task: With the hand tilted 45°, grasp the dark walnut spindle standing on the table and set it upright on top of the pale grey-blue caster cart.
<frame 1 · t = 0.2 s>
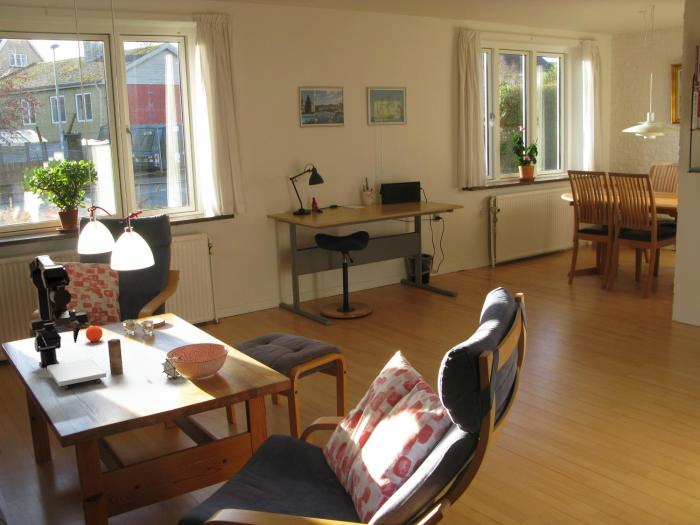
hand: (61, 344, 252), 14 cm above the table, tool pointing down, fingers open, 9 cm apart
clementine: (93, 341, 308), on the table
walnut spindle: (116, 372, 265), on the table
caster cart: (77, 379, 258), on the table
grey spiky ball: (174, 377, 258), on the table
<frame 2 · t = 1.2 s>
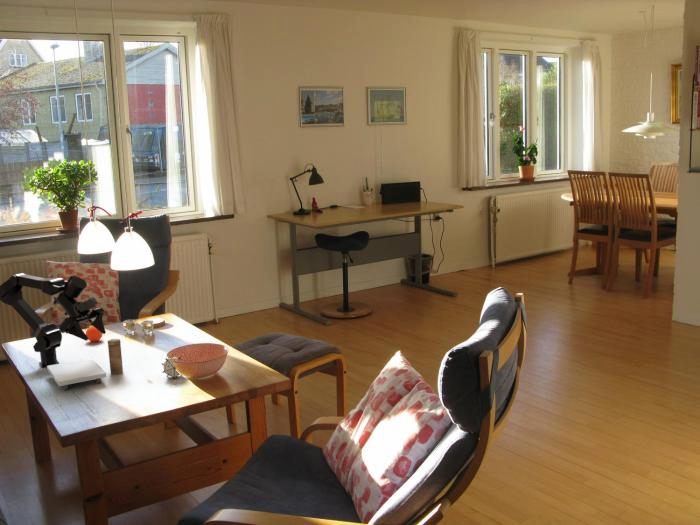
hand: (96, 336, 265), 13 cm above the table, tool tilted 45°, fingers open, 9 cm apart
nothing on the table moved.
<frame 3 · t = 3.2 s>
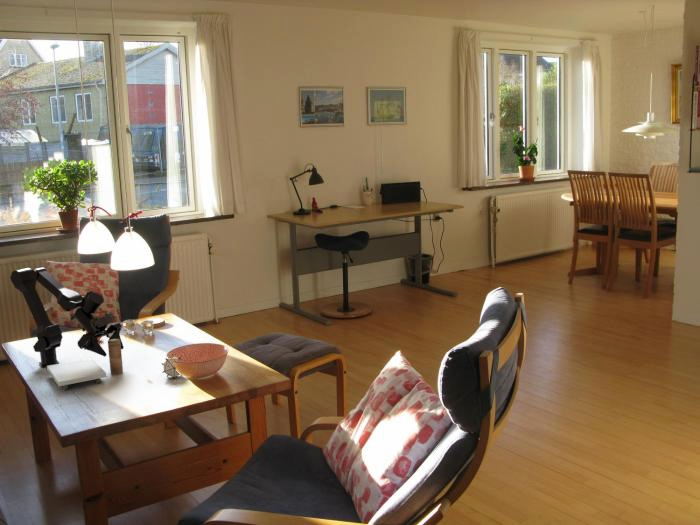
hand: (114, 352, 263), 8 cm above the table, tool tilted 45°, fingers open, 9 cm apart
nothing on the table moved.
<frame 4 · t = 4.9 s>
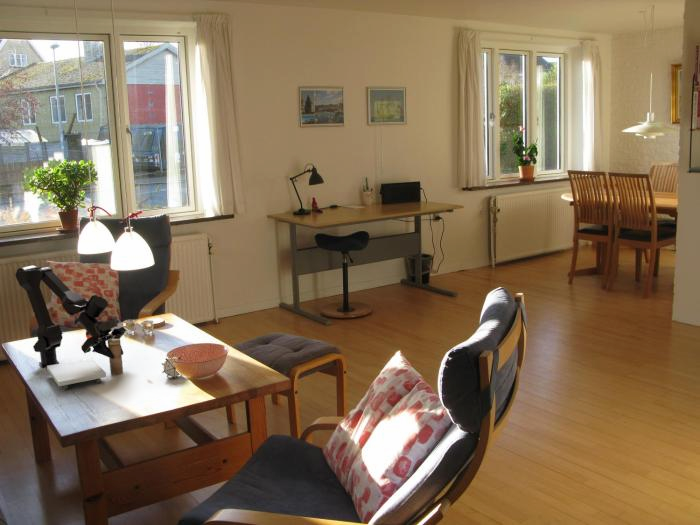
hand: (118, 356, 263), 7 cm above the table, tool tilted 45°, fingers closed on walnut spindle, 4 cm apart
walnut spindle: (116, 372, 265), on the table, touching gripper
everything else where it was.
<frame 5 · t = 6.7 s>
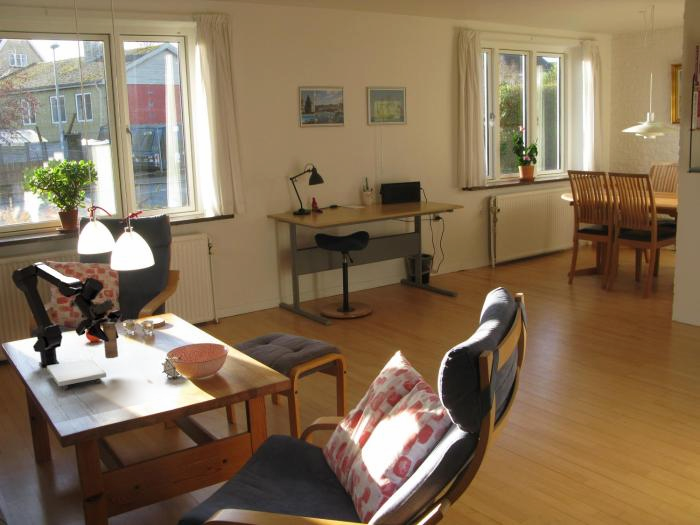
hand: (113, 339, 260), 13 cm above the table, tool tilted 45°, fingers closed on walnut spindle, 4 cm apart
walnut spindle: (111, 356, 262), point 7 cm above the table, touching gripper
everything else where it was.
when the fingers open (12 cm above the table, at t = 8.4 s): walnut spindle drops 1 cm, resting on caster cart.
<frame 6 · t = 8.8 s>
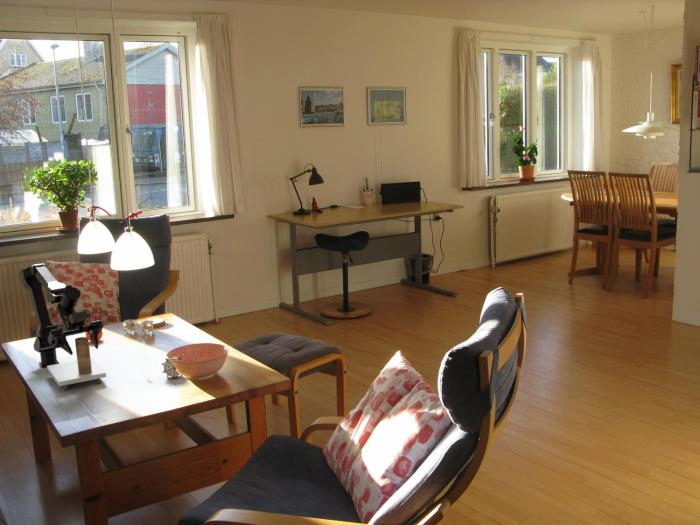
hand: (84, 351, 251), 12 cm above the table, tool tilted 45°, fingers open, 9 cm apart
walnut spindle: (85, 372, 254), point 4 cm above the table, touching caster cart
everything else where it was.
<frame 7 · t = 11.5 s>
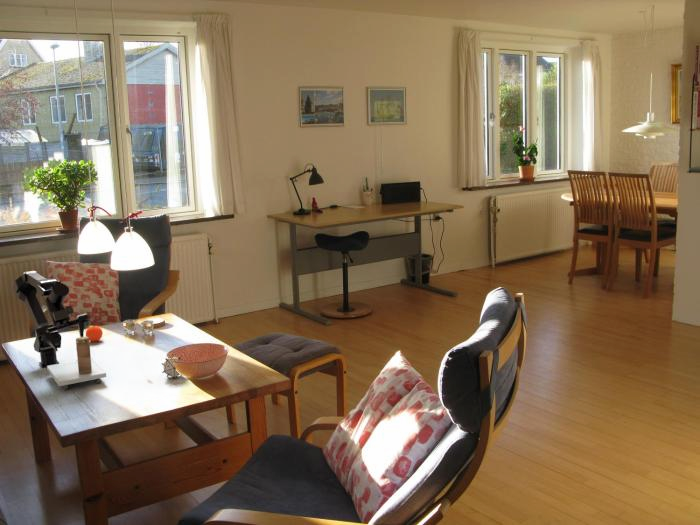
hand: (70, 346, 258), 12 cm above the table, tool tilted 40°, fingers open, 9 cm apart
nothing on the table moved.
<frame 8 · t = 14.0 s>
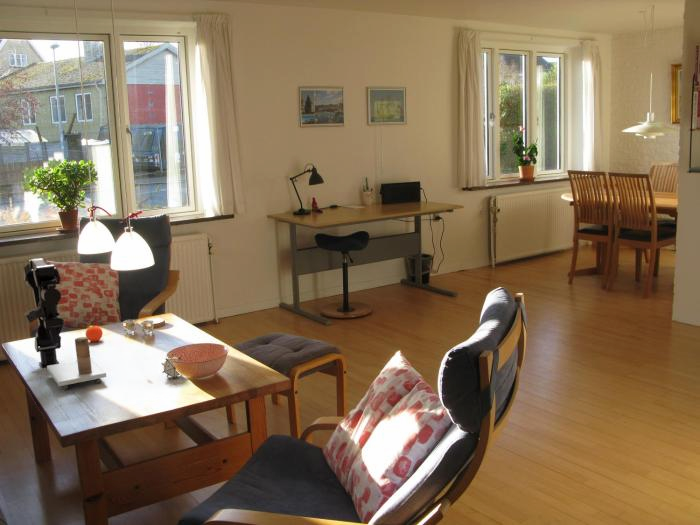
hand: (52, 340, 263), 13 cm above the table, tool pointing down, fingers open, 9 cm apart
nothing on the table moved.
at the end: walnut spindle inside the target area on the caster cart (6.0 cm from its centre), point 4.1 cm above the caster cart's base; walnut spindle tilted 3°; the gripper is holding nothing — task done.
